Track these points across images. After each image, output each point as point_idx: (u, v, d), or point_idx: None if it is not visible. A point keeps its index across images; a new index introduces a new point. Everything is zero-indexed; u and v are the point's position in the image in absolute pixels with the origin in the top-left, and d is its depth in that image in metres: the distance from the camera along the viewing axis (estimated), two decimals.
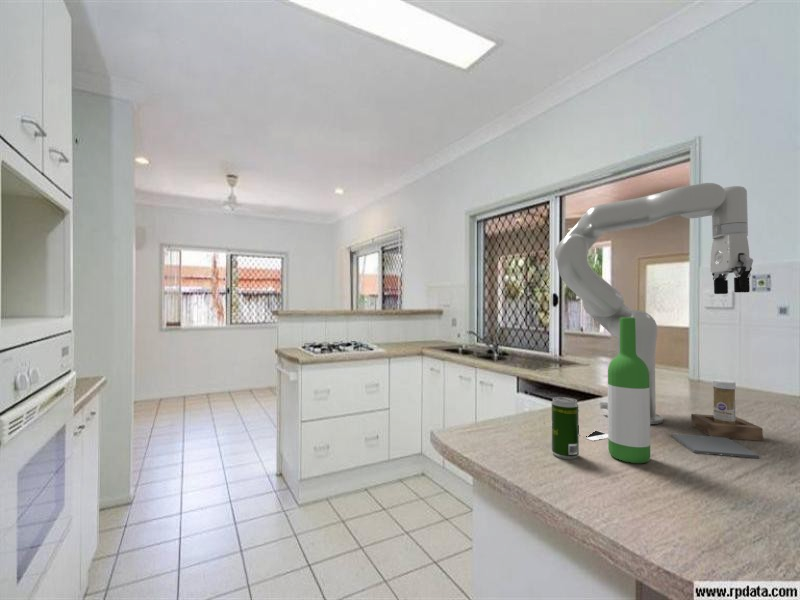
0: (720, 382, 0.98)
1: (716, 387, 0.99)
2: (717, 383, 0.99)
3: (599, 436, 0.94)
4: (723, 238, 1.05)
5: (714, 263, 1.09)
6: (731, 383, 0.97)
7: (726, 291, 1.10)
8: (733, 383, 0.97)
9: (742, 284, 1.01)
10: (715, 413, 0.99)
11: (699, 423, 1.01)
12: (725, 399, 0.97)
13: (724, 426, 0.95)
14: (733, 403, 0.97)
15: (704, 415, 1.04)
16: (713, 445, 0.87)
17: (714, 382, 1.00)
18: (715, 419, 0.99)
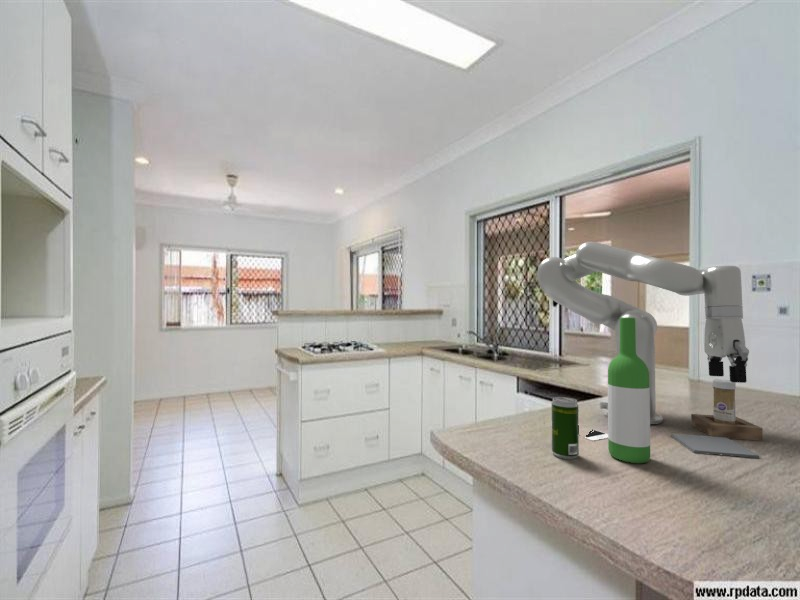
0: (720, 382, 0.98)
1: (716, 387, 0.99)
2: (717, 383, 0.99)
3: (599, 436, 0.94)
4: (717, 321, 0.98)
5: (708, 345, 1.02)
6: (731, 383, 0.97)
7: (722, 373, 1.03)
8: (733, 383, 0.97)
9: (738, 374, 0.93)
10: (715, 413, 0.99)
11: (699, 423, 1.01)
12: (725, 399, 0.97)
13: (724, 426, 0.95)
14: (733, 403, 0.97)
15: (704, 415, 1.04)
16: (713, 445, 0.87)
17: (714, 382, 1.00)
18: (715, 419, 0.99)
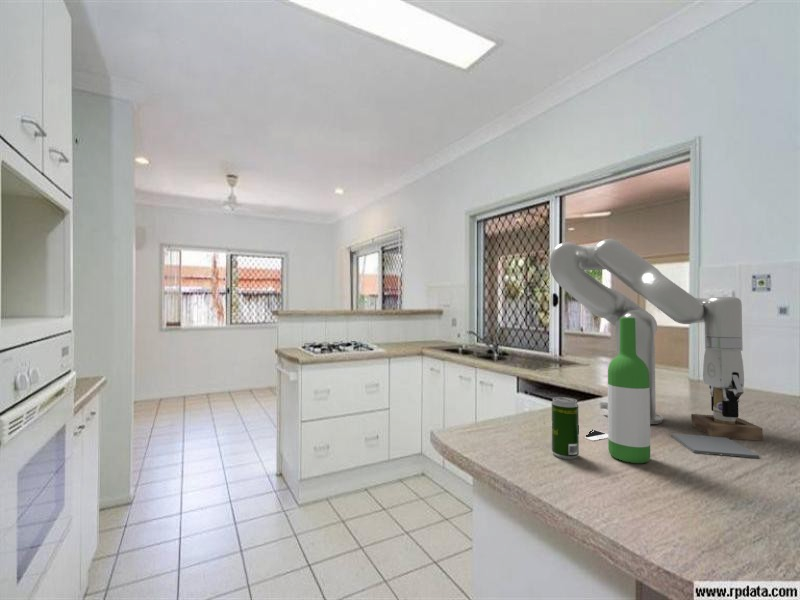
0: None
1: None
2: None
3: (599, 436, 0.94)
4: (716, 352, 0.98)
5: (707, 374, 1.02)
6: None
7: None
8: None
9: (730, 409, 0.96)
10: (715, 413, 0.99)
11: (699, 423, 1.01)
12: None
13: (724, 426, 0.95)
14: None
15: (704, 415, 1.04)
16: (713, 445, 0.87)
17: None
18: (715, 419, 0.99)
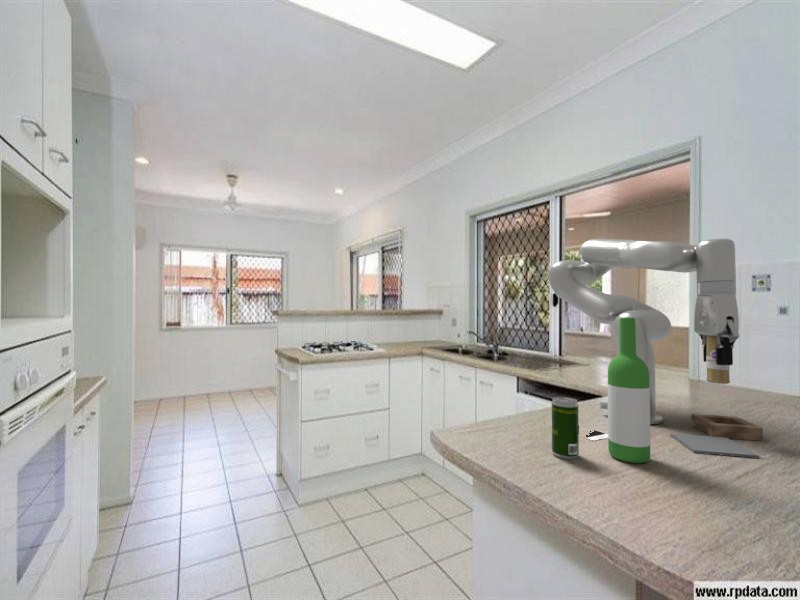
0: None
1: (709, 335, 0.94)
2: None
3: (599, 436, 0.94)
4: (709, 297, 0.93)
5: (699, 323, 0.97)
6: None
7: None
8: None
9: (725, 356, 0.90)
10: (708, 362, 0.94)
11: (699, 423, 1.01)
12: None
13: (724, 426, 0.95)
14: None
15: (704, 415, 1.04)
16: (713, 445, 0.87)
17: None
18: (708, 369, 0.94)
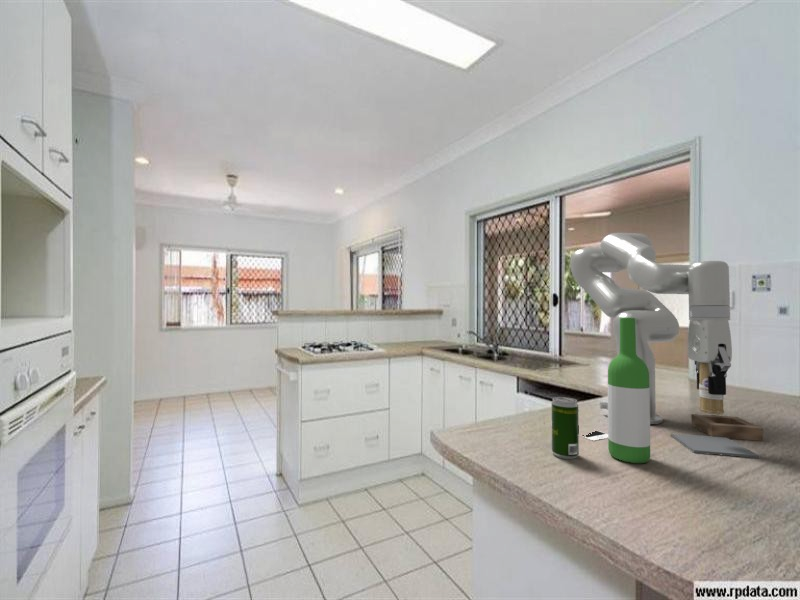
0: None
1: (702, 362, 0.89)
2: None
3: (599, 436, 0.94)
4: (701, 323, 0.88)
5: (691, 348, 0.92)
6: None
7: None
8: None
9: (717, 386, 0.86)
10: (701, 391, 0.89)
11: (699, 423, 1.01)
12: None
13: (724, 426, 0.95)
14: None
15: (704, 415, 1.04)
16: (713, 445, 0.87)
17: None
18: (701, 398, 0.89)
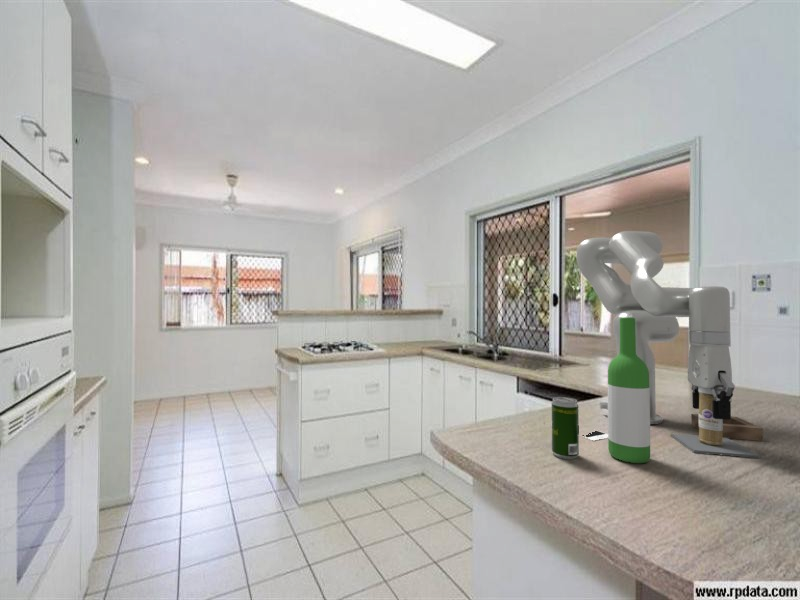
0: None
1: (702, 392, 0.89)
2: None
3: (599, 436, 0.94)
4: (701, 348, 0.88)
5: (691, 373, 0.92)
6: None
7: None
8: None
9: (722, 410, 0.84)
10: (700, 421, 0.89)
11: None
12: None
13: (724, 426, 0.95)
14: None
15: None
16: (713, 445, 0.87)
17: (700, 387, 0.90)
18: (700, 428, 0.89)
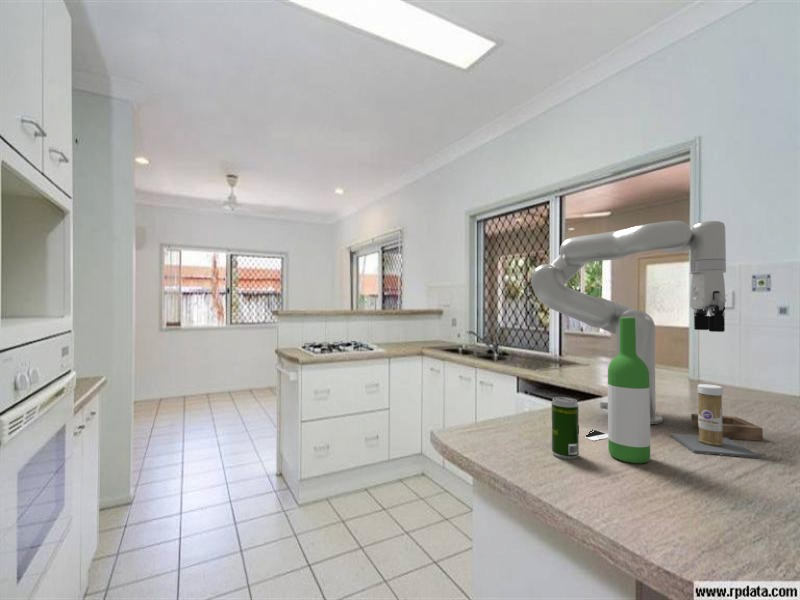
0: (705, 387, 0.88)
1: (701, 393, 0.89)
2: (702, 388, 0.89)
3: (599, 436, 0.95)
4: (699, 275, 1.02)
5: (692, 299, 1.06)
6: (717, 388, 0.87)
7: (707, 327, 1.07)
8: (720, 388, 0.87)
9: (716, 323, 0.98)
10: (700, 421, 0.89)
11: None
12: (711, 406, 0.87)
13: (724, 426, 0.95)
14: (720, 411, 0.87)
15: None
16: None
17: (699, 387, 0.90)
18: (700, 428, 0.89)
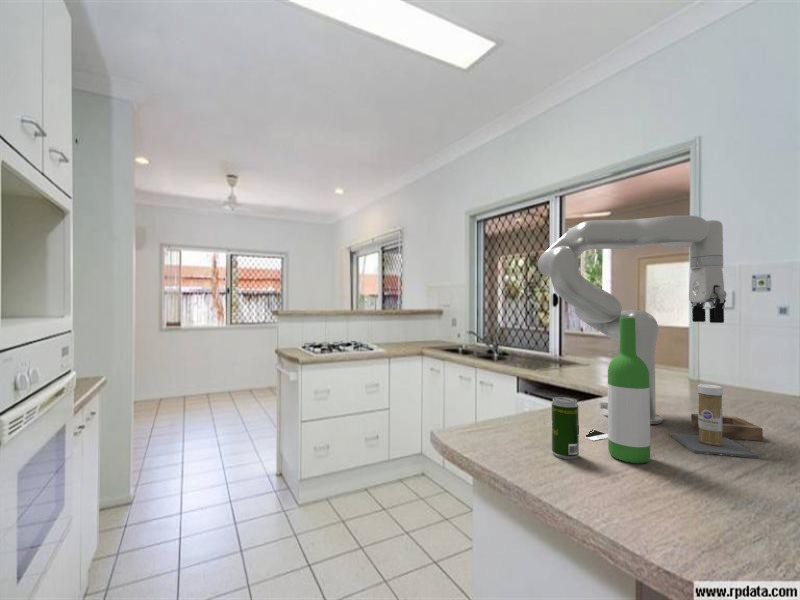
0: (705, 387, 0.88)
1: (701, 393, 0.89)
2: (702, 388, 0.89)
3: (599, 436, 0.95)
4: (700, 270, 1.10)
5: (692, 293, 1.14)
6: (718, 389, 0.87)
7: (704, 319, 1.15)
8: (720, 389, 0.87)
9: (717, 315, 1.05)
10: (700, 421, 0.89)
11: None
12: (711, 406, 0.87)
13: (724, 426, 0.95)
14: (720, 411, 0.87)
15: None
16: None
17: (699, 387, 0.89)
18: (700, 428, 0.89)
